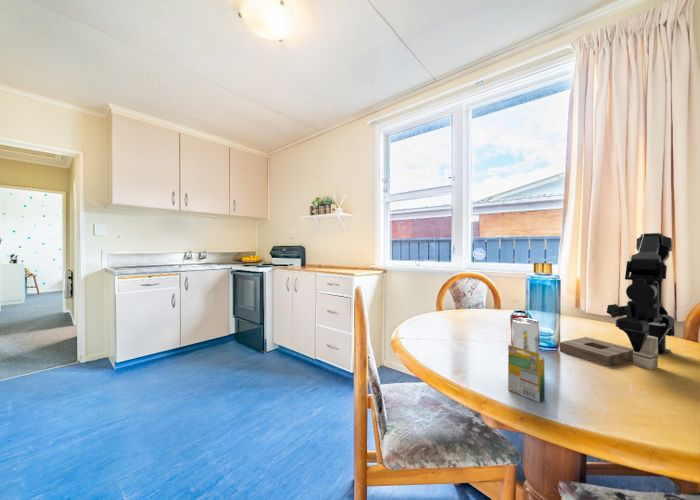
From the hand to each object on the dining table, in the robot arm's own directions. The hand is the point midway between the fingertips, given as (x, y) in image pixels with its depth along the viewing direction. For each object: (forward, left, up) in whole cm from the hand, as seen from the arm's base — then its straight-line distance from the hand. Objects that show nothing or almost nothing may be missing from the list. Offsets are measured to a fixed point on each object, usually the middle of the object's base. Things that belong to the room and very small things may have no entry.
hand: (645, 349), depth 85 cm
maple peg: (0, 0, -5) cm, 5 cm away
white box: (+37, -11, -5) cm, 39 cm away
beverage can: (+20, -26, -5) cm, 33 cm away
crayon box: (+49, -2, -5) cm, 49 cm away
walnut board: (+3, -11, -5) cm, 12 cm away
